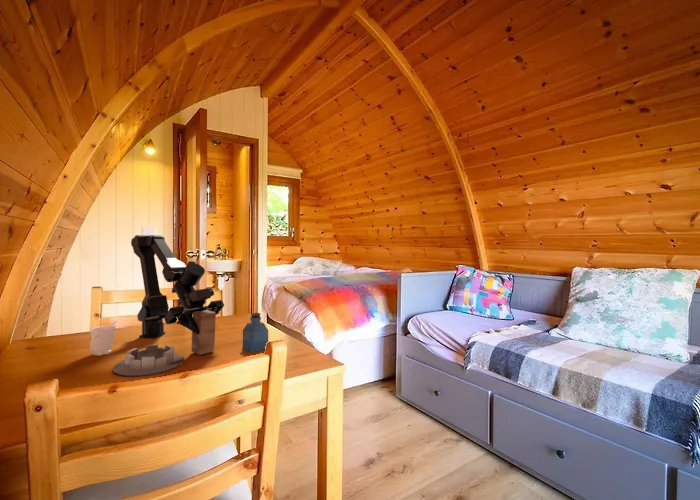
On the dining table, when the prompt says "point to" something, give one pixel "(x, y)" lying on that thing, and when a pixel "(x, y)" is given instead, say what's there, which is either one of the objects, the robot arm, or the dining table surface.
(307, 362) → the dining table surface
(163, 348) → the castellated ring
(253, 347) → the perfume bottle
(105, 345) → the cup
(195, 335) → the walnut block
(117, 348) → the dining table surface
